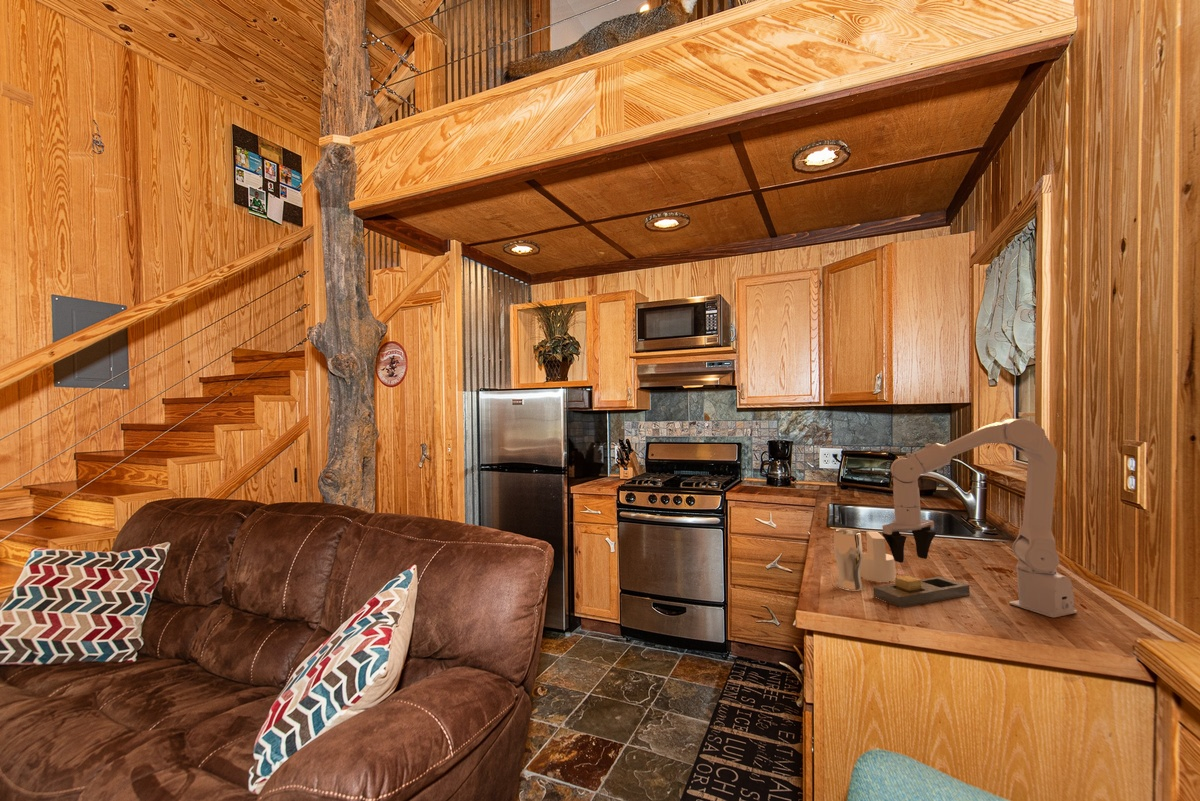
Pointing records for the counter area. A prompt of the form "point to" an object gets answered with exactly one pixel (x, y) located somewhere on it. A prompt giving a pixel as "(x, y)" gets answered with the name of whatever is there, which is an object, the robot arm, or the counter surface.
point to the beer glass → (848, 558)
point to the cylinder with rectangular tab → (877, 560)
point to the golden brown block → (908, 584)
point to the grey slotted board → (923, 592)
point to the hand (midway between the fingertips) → (910, 559)
